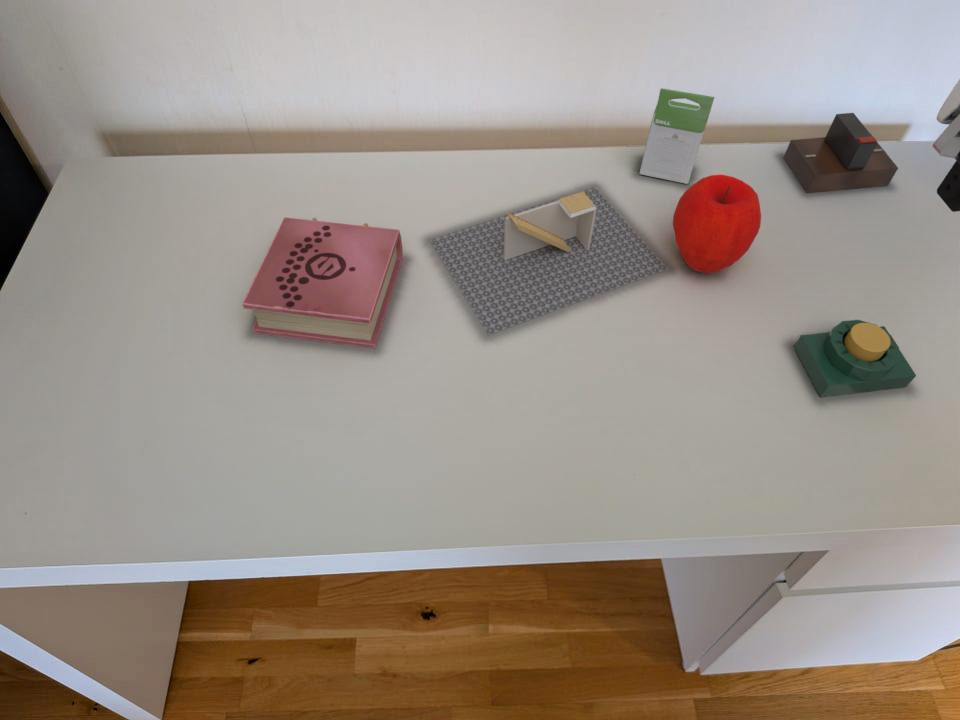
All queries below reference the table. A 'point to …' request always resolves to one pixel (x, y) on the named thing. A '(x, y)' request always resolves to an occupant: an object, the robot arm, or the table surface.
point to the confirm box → (850, 364)
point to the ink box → (675, 135)
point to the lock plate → (835, 167)
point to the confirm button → (867, 342)
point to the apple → (716, 222)
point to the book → (326, 282)
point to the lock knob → (850, 141)
